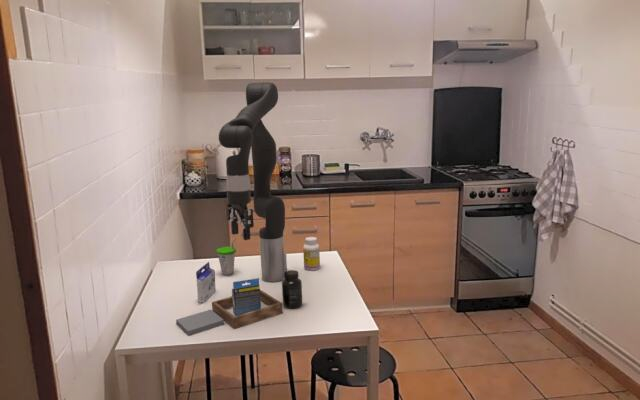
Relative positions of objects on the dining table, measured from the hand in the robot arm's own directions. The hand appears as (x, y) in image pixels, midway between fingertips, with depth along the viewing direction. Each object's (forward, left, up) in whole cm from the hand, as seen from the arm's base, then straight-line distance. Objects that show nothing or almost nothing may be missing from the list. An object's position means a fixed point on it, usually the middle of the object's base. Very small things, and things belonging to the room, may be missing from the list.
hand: (240, 236), depth 166 cm
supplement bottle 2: (-41, -18, -26) cm, 52 cm away
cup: (-11, -35, -26) cm, 45 cm away
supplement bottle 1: (-15, +7, -26) cm, 31 cm away
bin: (0, +2, -26) cm, 26 cm away
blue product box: (0, +2, -26) cm, 26 cm away
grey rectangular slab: (+16, 0, -26) cm, 31 cm away
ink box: (+5, -19, -26) cm, 33 cm away
